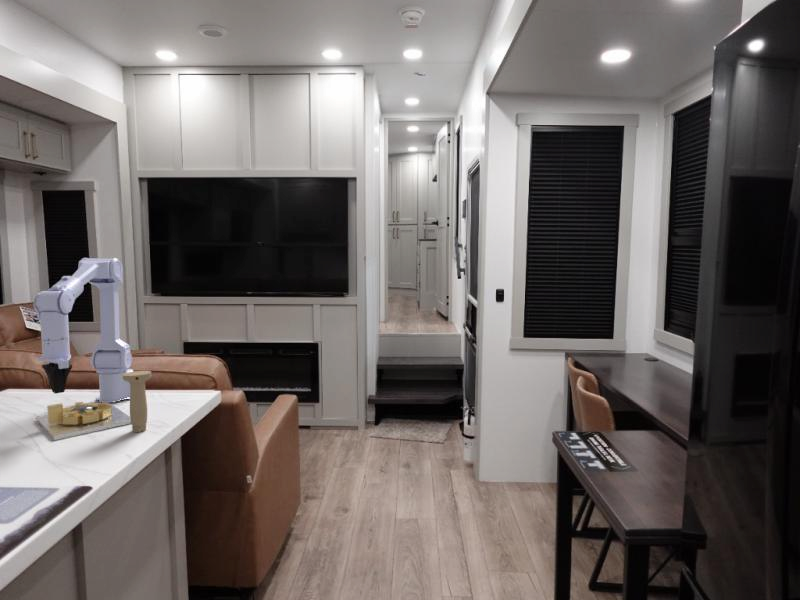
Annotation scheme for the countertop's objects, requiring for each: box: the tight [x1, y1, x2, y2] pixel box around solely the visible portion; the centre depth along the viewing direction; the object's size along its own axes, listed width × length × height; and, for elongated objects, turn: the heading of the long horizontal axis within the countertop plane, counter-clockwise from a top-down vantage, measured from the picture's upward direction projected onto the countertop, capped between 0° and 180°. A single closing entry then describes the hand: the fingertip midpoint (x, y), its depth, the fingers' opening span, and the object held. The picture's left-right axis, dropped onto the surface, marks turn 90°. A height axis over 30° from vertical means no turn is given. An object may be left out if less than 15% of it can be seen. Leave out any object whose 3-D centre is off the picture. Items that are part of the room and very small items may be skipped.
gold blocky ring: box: [47, 401, 112, 425], centre depth 134 cm, size 14×12×5 cm
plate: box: [35, 403, 131, 441], centre depth 134 cm, size 18×20×4 cm
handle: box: [123, 370, 152, 433], centre depth 128 cm, size 5×6×15 cm
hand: (58, 392), depth 126 cm, fingers closed
